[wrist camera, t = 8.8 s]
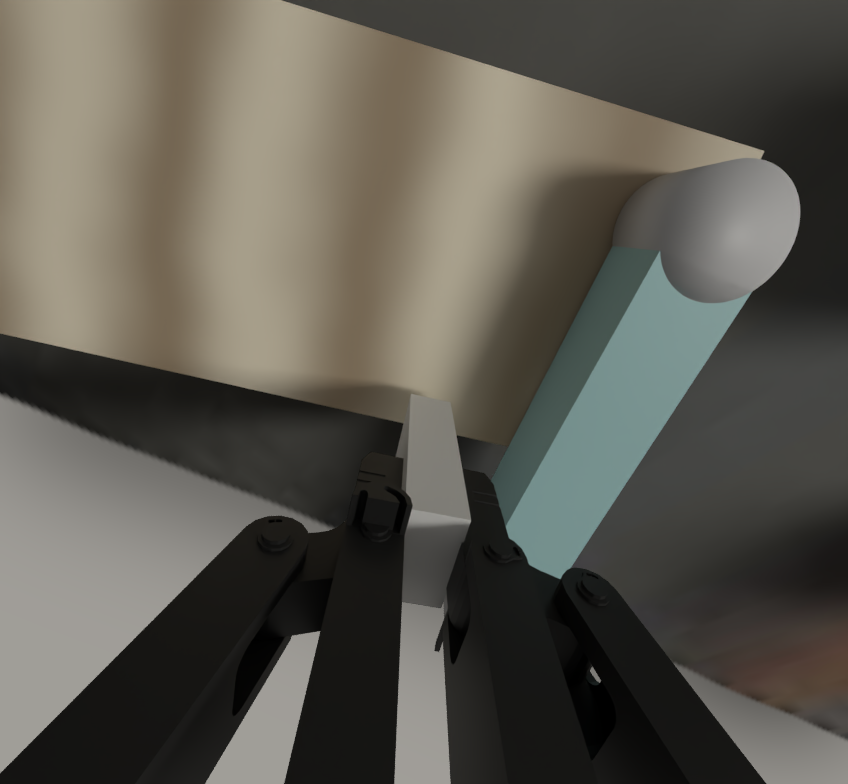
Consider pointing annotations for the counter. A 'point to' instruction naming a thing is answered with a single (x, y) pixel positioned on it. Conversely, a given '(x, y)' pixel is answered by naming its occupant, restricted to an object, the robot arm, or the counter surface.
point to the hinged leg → (640, 346)
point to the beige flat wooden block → (306, 203)
